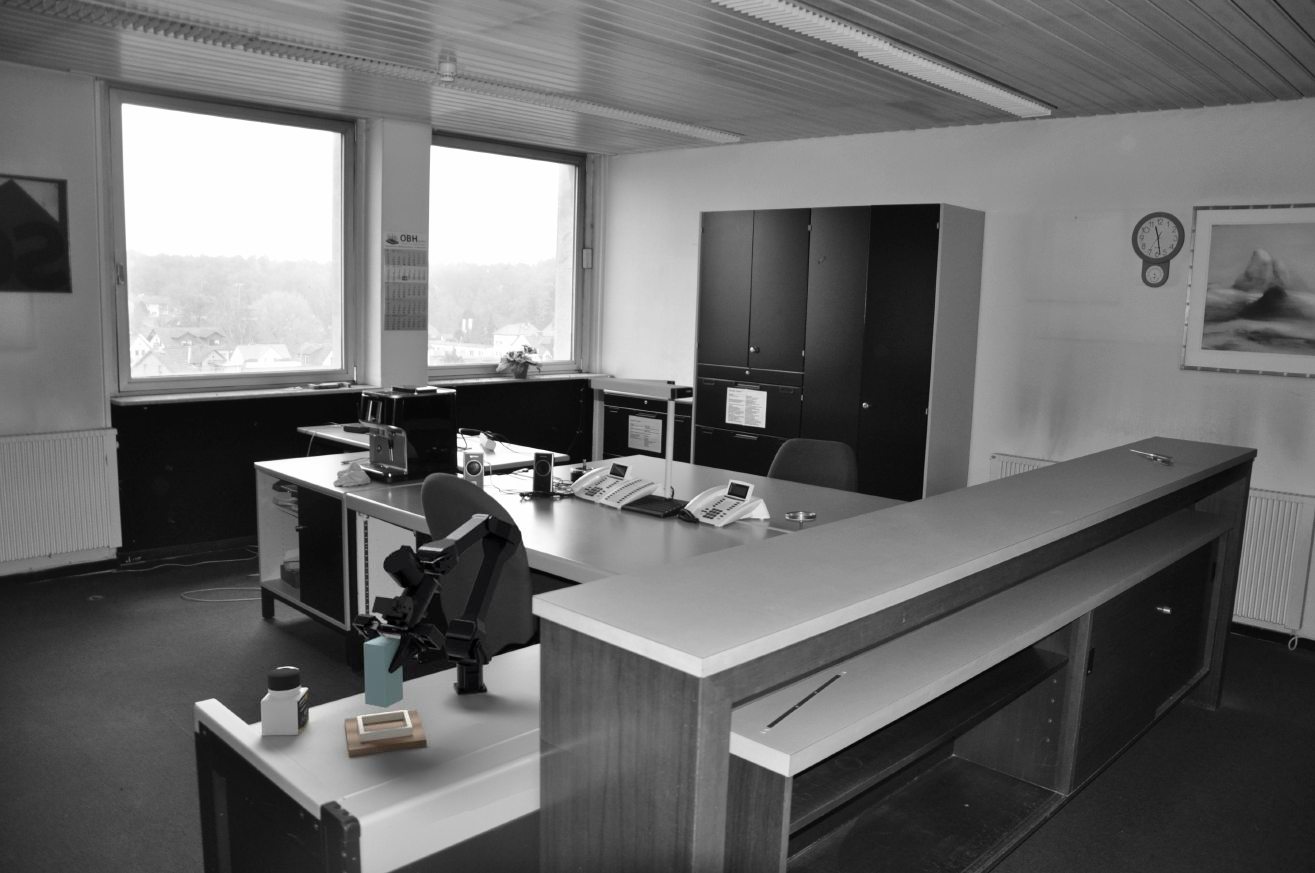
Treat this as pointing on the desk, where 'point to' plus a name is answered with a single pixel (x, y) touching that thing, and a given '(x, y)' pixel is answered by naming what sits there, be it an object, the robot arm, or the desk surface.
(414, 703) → the desk surface
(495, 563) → the robot arm
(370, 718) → the wooden tray with frame
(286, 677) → the medicine bottle
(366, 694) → the pale blue tall block
